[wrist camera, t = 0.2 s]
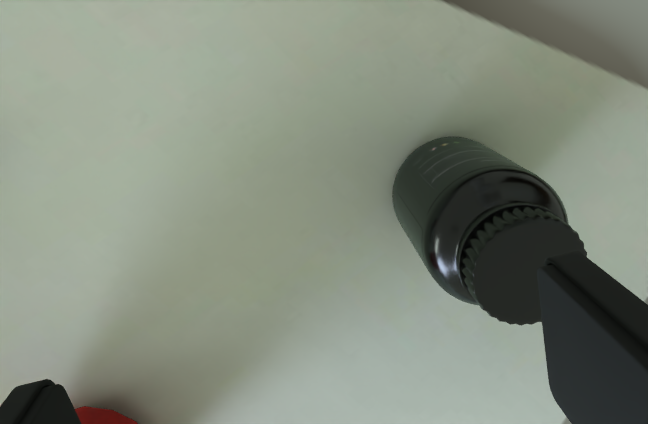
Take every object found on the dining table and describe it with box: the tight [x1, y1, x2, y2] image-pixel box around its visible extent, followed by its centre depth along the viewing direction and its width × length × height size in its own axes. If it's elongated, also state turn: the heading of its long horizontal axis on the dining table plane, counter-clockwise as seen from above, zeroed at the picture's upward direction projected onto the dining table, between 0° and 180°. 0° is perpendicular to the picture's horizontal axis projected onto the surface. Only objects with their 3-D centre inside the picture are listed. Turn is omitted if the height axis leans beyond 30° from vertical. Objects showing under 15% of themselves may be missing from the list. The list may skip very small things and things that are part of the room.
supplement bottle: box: [392, 137, 587, 325], centre depth 27 cm, size 7×7×12 cm
